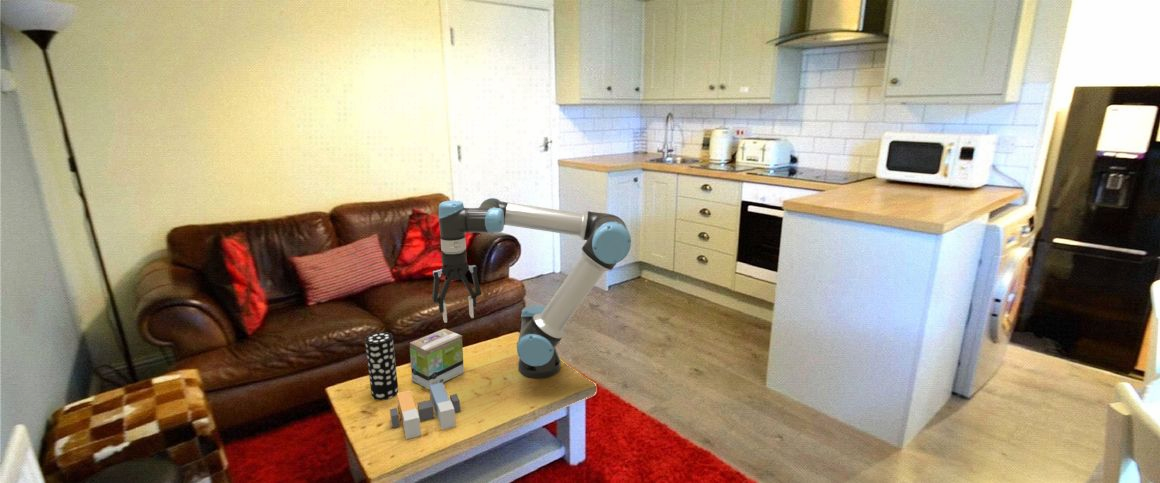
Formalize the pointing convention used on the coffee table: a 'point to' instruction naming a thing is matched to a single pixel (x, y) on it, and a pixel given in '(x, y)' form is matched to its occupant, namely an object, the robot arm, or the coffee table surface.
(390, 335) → the spotted tube
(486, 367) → the coffee table surface
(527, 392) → the coffee table surface
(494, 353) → the coffee table surface
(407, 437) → the white-capped orange post
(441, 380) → the tea box
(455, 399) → the grey blocks
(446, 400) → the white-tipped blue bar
